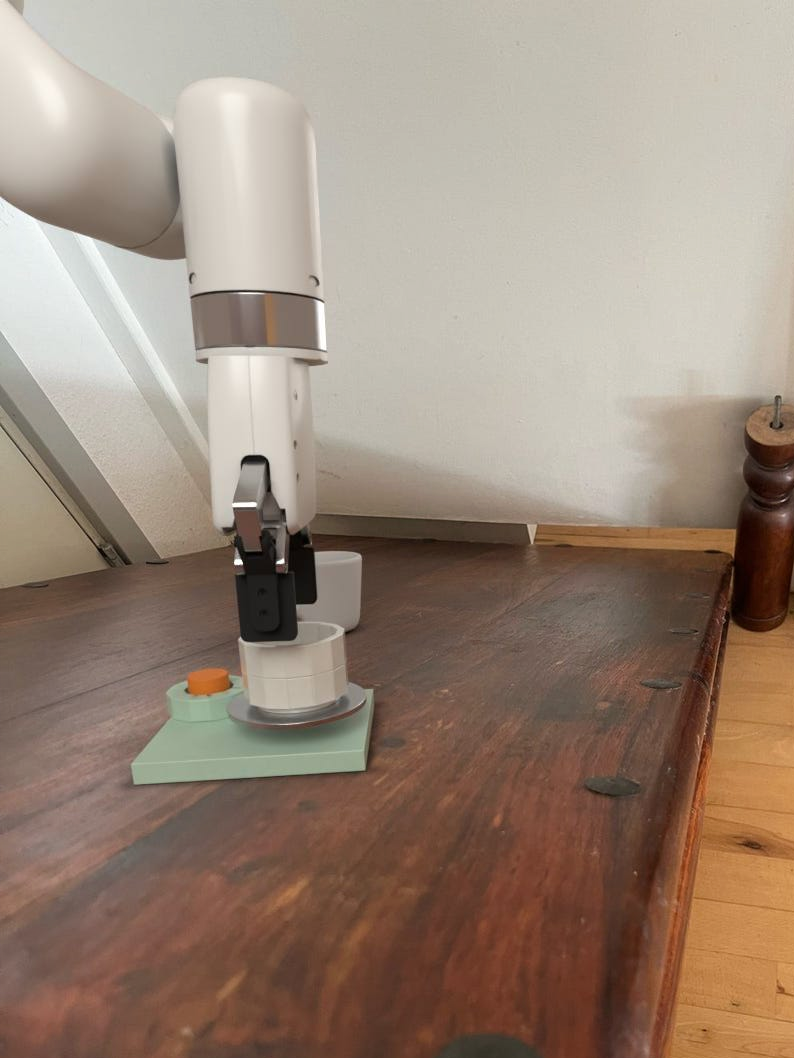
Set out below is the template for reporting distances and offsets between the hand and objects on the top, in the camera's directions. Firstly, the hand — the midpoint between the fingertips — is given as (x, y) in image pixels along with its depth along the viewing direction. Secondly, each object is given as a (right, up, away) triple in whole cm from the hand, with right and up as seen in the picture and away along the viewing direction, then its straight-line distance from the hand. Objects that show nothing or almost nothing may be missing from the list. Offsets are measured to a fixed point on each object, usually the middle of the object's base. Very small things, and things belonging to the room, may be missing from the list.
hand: (283, 620), depth 50 cm
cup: (-5, -1, +32) cm, 33 cm away
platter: (+1, -6, +1) cm, 6 cm away
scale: (-2, -8, +3) cm, 9 cm away
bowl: (+1, -5, +1) cm, 5 cm away
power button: (-7, -5, +6) cm, 10 cm away
